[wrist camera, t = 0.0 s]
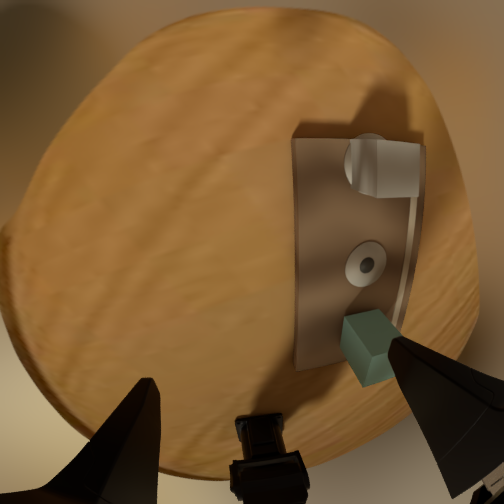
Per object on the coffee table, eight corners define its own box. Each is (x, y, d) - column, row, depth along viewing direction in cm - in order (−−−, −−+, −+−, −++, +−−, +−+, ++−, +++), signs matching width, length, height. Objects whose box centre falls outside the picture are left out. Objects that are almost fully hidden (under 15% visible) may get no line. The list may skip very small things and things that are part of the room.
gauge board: (391, 340, 30) (412, 366, 25) (293, 364, 28) (305, 399, 24) (417, 139, 21) (455, 142, 16) (290, 131, 19) (313, 127, 15)
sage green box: (373, 338, 26) (400, 374, 21) (339, 347, 26) (362, 387, 21) (380, 308, 25) (411, 343, 19) (344, 316, 25) (372, 356, 19)
